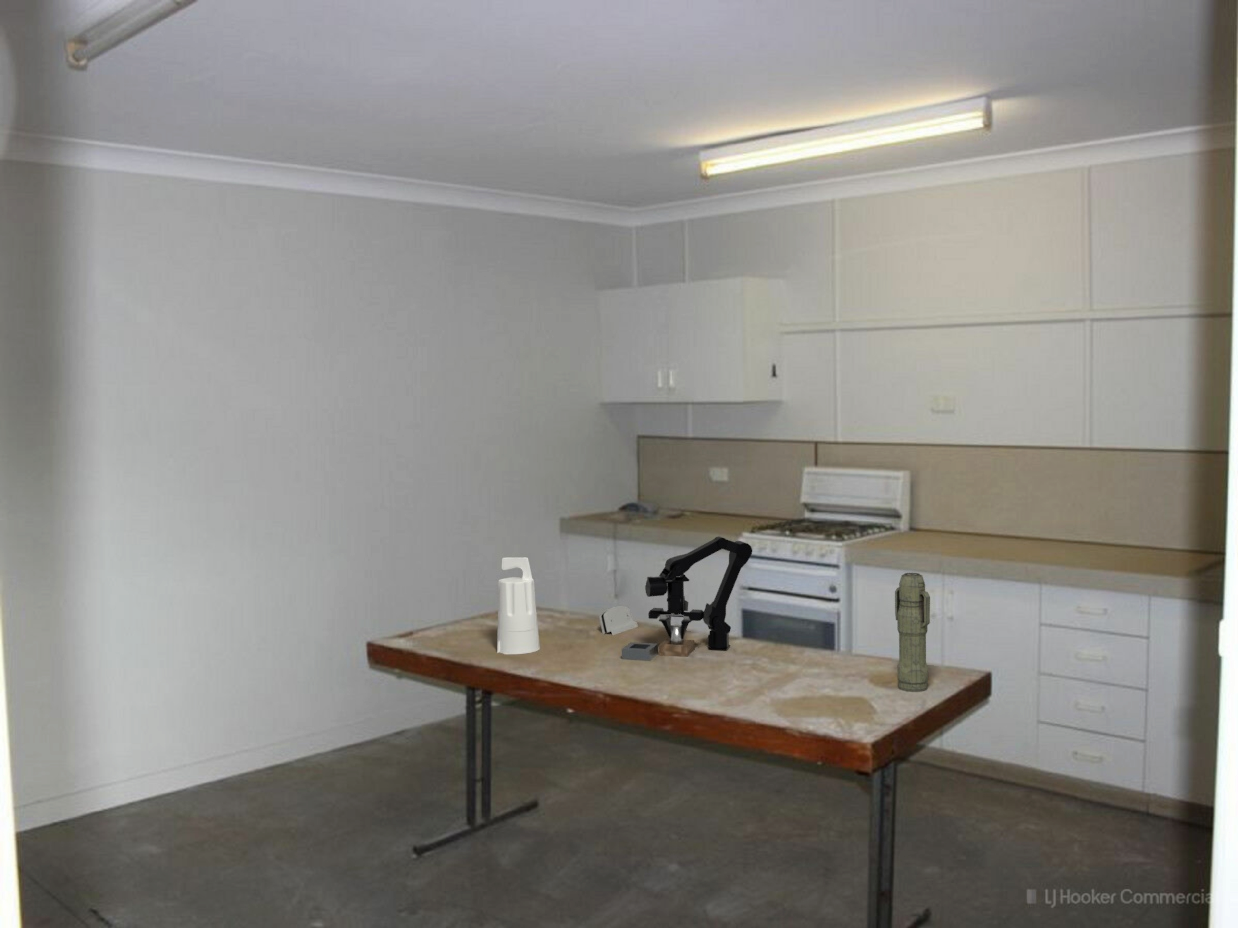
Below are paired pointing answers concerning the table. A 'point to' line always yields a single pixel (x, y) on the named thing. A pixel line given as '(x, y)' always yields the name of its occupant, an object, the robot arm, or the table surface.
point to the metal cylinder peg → (676, 635)
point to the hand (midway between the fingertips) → (676, 638)
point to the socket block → (676, 648)
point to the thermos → (912, 632)
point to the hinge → (617, 620)
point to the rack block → (640, 651)
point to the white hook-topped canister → (517, 610)
